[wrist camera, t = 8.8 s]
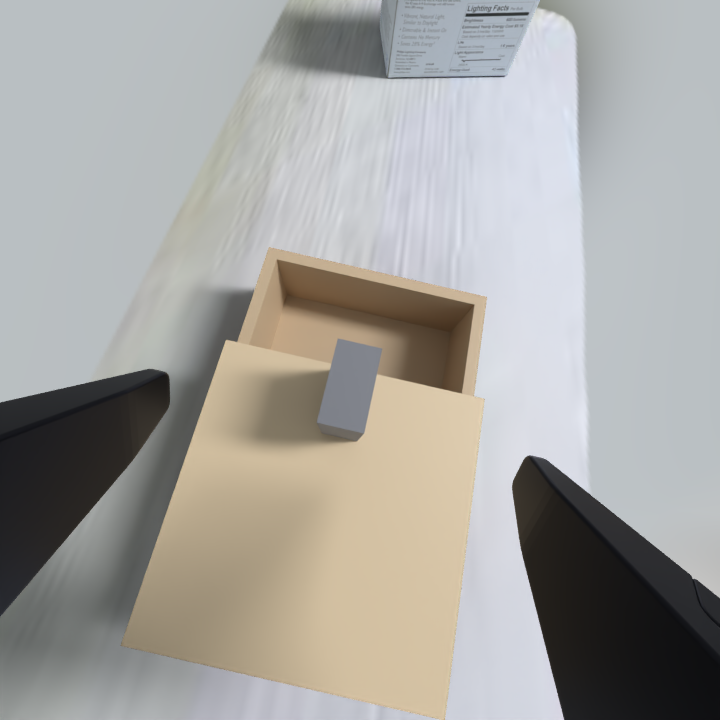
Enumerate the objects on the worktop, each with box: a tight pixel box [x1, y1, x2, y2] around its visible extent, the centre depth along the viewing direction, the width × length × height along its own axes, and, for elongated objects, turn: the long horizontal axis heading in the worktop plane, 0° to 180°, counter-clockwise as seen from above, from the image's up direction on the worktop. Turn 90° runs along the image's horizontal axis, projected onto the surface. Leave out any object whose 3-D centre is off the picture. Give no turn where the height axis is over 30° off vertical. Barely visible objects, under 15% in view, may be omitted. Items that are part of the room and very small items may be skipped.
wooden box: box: [237, 247, 487, 396], centre depth 20 cm, size 12×12×5 cm
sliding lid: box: [121, 338, 485, 720], centre depth 14 cm, size 12×12×5 cm
